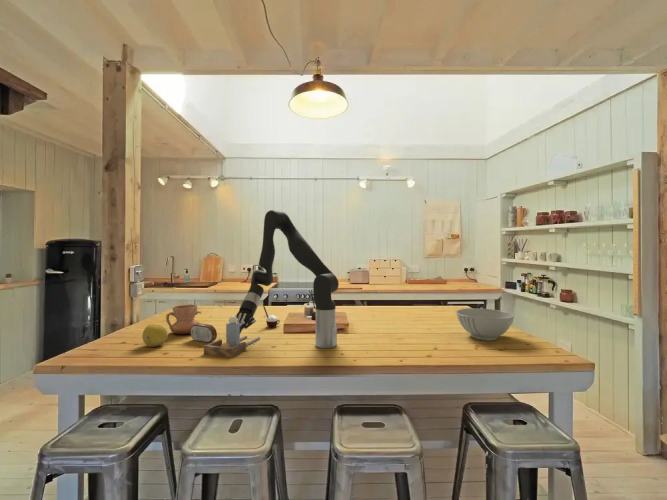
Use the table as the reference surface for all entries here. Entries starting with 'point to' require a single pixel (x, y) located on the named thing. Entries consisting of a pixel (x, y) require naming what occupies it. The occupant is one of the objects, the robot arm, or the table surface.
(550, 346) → the table surface
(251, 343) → the lane
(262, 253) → the robot arm
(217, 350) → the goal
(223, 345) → the ball
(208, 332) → the tin
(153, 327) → the fruit
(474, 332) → the decorative bowl
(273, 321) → the cocoa
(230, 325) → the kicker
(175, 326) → the ceramic jug
